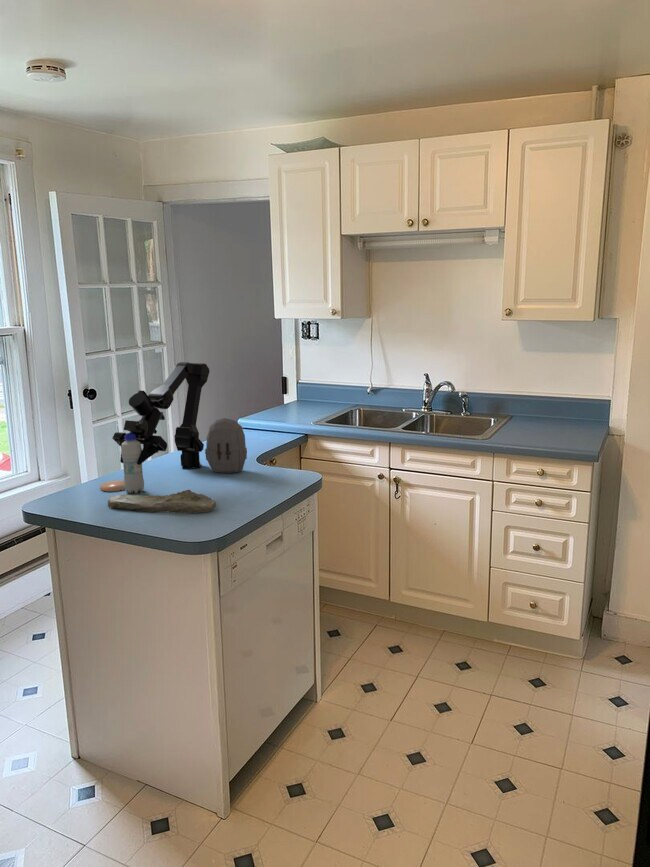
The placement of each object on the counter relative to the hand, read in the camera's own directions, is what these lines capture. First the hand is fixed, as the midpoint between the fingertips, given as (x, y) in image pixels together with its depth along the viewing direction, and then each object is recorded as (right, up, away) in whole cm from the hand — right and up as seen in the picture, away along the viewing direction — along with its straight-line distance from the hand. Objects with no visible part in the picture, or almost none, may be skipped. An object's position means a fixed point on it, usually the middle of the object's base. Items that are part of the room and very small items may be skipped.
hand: (129, 463), depth 220 cm
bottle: (+1, -10, +4) cm, 10 cm away
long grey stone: (+14, -14, -12) cm, 23 cm away
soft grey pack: (+28, -5, +24) cm, 38 cm away
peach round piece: (-8, -9, +9) cm, 14 cm away
